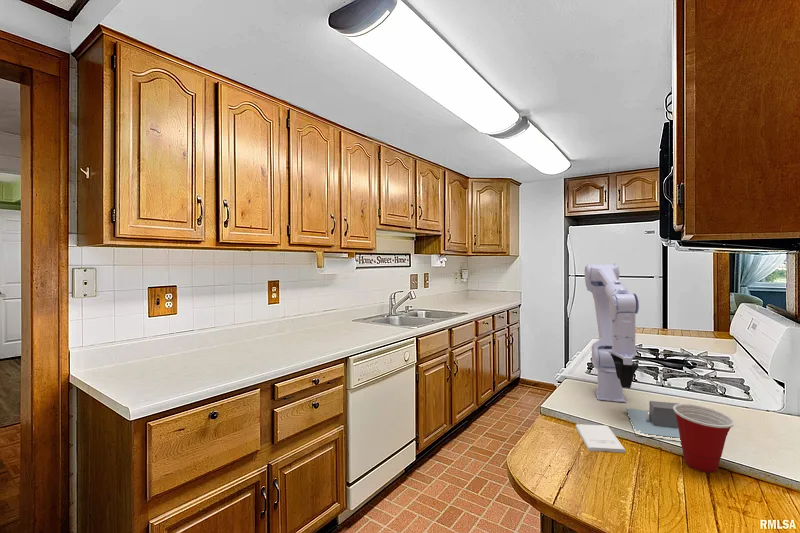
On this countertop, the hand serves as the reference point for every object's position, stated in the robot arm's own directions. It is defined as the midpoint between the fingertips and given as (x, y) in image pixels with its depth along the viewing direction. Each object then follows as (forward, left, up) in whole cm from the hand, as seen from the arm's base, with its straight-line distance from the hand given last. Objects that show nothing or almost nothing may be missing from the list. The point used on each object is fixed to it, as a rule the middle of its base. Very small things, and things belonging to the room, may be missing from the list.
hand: (623, 383), depth 114 cm
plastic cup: (+24, +12, -10) cm, 28 cm away
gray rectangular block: (+5, +9, -8) cm, 14 cm away
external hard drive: (+18, -8, -10) cm, 22 cm away
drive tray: (+5, +10, -9) cm, 15 cm away
